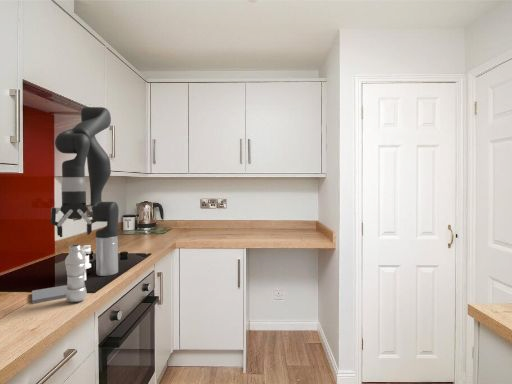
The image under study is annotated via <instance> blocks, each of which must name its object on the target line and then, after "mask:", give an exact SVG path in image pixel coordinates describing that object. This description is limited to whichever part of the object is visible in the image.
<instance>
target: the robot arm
mask: <svg viewBox="0 0 512 384" xmlns="http://www.w3.org/2000/svg"><path fill="white" fill-rule="evenodd" d="M80 118H81V120H80V122H79V123H77V124H76V125H75V126H74V127H72V128H70V129H67V130H65V131H62V132H60V133H58V135H57V136H56V138H55V140H54V145H55V148H56V150H57V151H58V152H60V153H61V154H69V155H70V154H76V155H75V157H74V158H73V159H72V158H71V159H68V160H64V161H62V164H61V206H60V207H54V206H53V207H51V209H50V224H51V226H56V230H57V231H56V232H57V233H56V234H57V236H59V238H63V226H62V225H63V224H64V223H65V221H66V220H67V219H69V220H74V219H76V220H77V219H81V218H82V219H83V221H85V222H86V236H89V235H91V234H92V231H93V230H92V228H93V227H92V226H93V224H94V223H97V222H98V223H99V222H101V223H102V222H106V226H105V227H103V228H100V229H98V230H96V231H95V258H96V259H95V260H96V261H95V262H96V266H95V267H96V275H97V276H101V277H102V276H103V277H104V276H105V277H106V276H112V275H116V274H117V273H119V248H118V246H119V245H118V244H119V242H118V240H119V239H118V232H119V216H120V215H119V213H120V212H119V211H120V210H119V205H118V203H117V202H115V201H102V192H103V190H104V188H105V186H106V184H107V182H108V180H110V179H109V178H110V177H111V174H112V170H111V159H110V157H109V155H108V153H107V152H106V151H105V150H104V147H102V146H101V144H100V143H99V142H98V140H97V138H96V135H98V134H99V133H101V132H102V131H104V130H106V129H108V128H109V127H110V126H111V123H112V117H111V113H110V110H109V109H107V108H106V107H103V106H102V107H100V106H97V107H96V106H95V107H94V106H93V107H92V106H86V107H83V108H82V109H81V111H80ZM86 165H87V173H88V180H89V188H90V190H89V192H90V194H89V195H90V206H87V185H86V182H87V181H86V177H85V175H86V169H85V167H86ZM88 210H89V212H90V215H91V216H90V217H91V218H92V219H89V217H88V216H87V215H86V213H87V211H88ZM59 212H61V213H62V214H63V215H62V216H61V217H60V219H59V220H58V221H56V215H57V214H59Z"/></svg>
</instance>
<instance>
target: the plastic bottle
mask: <svg viewBox="0 0 512 384" xmlns="http://www.w3.org/2000/svg"><path fill="white" fill-rule="evenodd" d="M81 247H82V245H81V244H71V245H69V247H68V248H69V249H68V252H69V253H68V255H67V256H66V258H65V259H64V264H65V270H66V276H67V277H66V278H67V281H66V282H67V283H66V285H67V290H66V298H65V299H66V300H67V302H69V303H78V302H82V301H84V300H85V299H86V297H87V287H86V283H85V281H86V280H85V281H84V268H85V257H84V255H83V254H82V253H81V252H80V251H81V249H82V248H81Z"/></svg>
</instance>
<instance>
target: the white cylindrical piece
mask: <svg viewBox="0 0 512 384" xmlns="http://www.w3.org/2000/svg"><path fill="white" fill-rule="evenodd" d="M91 247H92V245H91V244H88V245H87V244H85V245H83V246H81V251H80V252H81V253H82V254H83V255H84V257H85V268H84V281H87V269H90V268H92V263H90V254H92V250H91V249H92V248H91ZM87 254H88V255H87Z"/></svg>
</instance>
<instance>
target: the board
mask: <svg viewBox="0 0 512 384" xmlns="http://www.w3.org/2000/svg"><path fill="white" fill-rule="evenodd" d="M66 290H67V284H66V285H65V284H64V285H60V286H53V287H47V288H41V289H35V290H32V291H31V301H32V304H38V303H43V302H45V303H46V302H49V301H54V300H55V301H56V300H60V299H66Z"/></svg>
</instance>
